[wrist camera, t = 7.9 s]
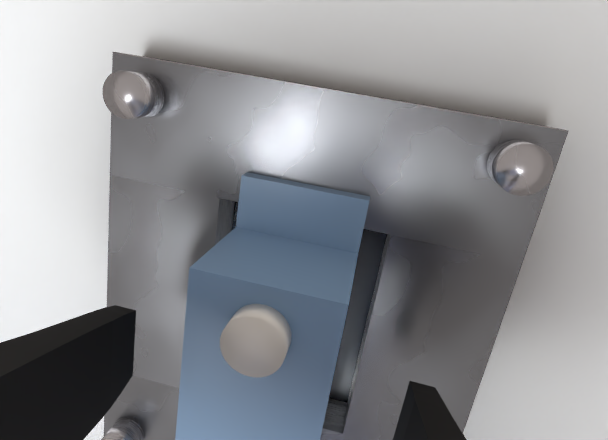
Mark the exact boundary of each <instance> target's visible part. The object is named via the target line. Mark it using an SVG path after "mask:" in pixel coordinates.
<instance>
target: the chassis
mask: <svg viewBox="0 0 608 440" xmlns="http://www.w3.org/2000/svg"><path fill="white" fill-rule="evenodd" d="M103 98H104V102H105V104H106V106H107V108H108V109H109V110H110V111H111V154H110V197H109V241H108V284H107V307H110V306H114V305H117V306H121V307H125V308H129V309H132V310H136V324H135V344H134V363H133V376H132V377H131V379H130V380H129V382H128V383H127V385H126V386H125V388H124V390H123V391H122V393H121V394H120V395H119V397H118V398H117V400H116V401H115V402H114V404H113V405H112V407H111V408H110V409H109V411H108V412H107V413H106V414H105V415H104V437H103V438H102V439H101V440H175V437H176V424H177V412H178V400H179V388H180V375H181V363H182V351H183V338H184V326H185V314H186V302H187V289H188V277H189V268H190V267H191V266H192V265H193V264H194V263H195V262H196V261H198V260H199V259H200V258H201V257H202V256H203V255H204V254H206V253H207V252H208V251H209V250H210V249H211V248H212V247H214V246H215V245H216V244H217V243H218V242H219V241H220V240H222V239H223V238H224V237H225V236H226V235H227V234H228V233H230V232H231V231H232V225H233V216H234V208H235V202H239V194H240V185H241V176H242V175H243V174H245V173H247V172H249V173H254V174H259V175H264V176H269V177H274V178H279V179H284V180H289V181H294V182H299V183H304V184H309V185H314V186H319V187H324V188H330V189H335V190H340V191H345V192H350V193H355V194H360V195H365V196H370V201H369V206H368V210H367V215H366V220H365V224H364V229H366V230H370V231H375V232H380V233H384V234H387V237H386V241H385V245H384V250H383V254H382V258H381V262H380V266H379V271H378V275H377V279H376V283H375V287H374V292H373V296H372V300H371V304H370V308H369V313H368V317H367V321H366V325H365V329H364V334H363V338H362V342H361V346H360V350H359V355H358V359H357V363H356V367H355V371H354V376H353V380H352V384H351V388H350V392H349V397H348V401H347V403H346V402H342V401H339V400H335V399H331V398H329V400H328V405H327V409H326V414H325V419H324V423H323V428H322V433H321V437H320V440H393V437H394V434H395V430H396V427H397V423H398V420H399V416H400V413H401V409H402V406H403V402H404V399H405V395H406V392H407V388H408V385H409V381H413V382H417V383H421V384H424V385H428V386H432V387H435V388H436V389H437V391H438V393H439V394H440V396H441V398H442V399H443V401H444V403H445V405H446V406H447V408H448V410H449V412H450V413H451V415H452V417H453V418H454V420H455V422H456V423H457V425H458V427H459V428H460V430H461V432H462V433H463V431H464V428H465V425H466V422H467V419H468V416H469V414H470V411H471V408H472V405H473V402H474V399H475V396H476V394H477V391H478V388H479V385H480V382H481V379H482V376H483V374H484V371H485V368H486V365H487V362H488V359H489V356H490V354H491V351H492V348H493V345H494V342H495V339H496V336H497V334H498V331H499V328H500V325H501V322H502V319H503V316H504V314H505V311H506V308H507V305H508V302H509V299H510V296H511V294H512V291H513V288H514V285H515V282H516V279H517V276H518V274H519V271H520V268H521V265H522V262H523V259H524V256H525V254H526V251H527V248H528V245H529V242H530V239H531V236H532V234H533V231H534V228H535V225H536V222H537V219H538V216H539V214H540V211H541V208H542V205H543V202H544V199H545V196H546V194H547V191H548V188H549V185H550V182H551V179H552V176H553V174H554V171H555V168H556V165H557V162H558V159H559V156H560V154H561V151H562V148H563V145H564V142H565V139H566V136H567V134H568V131H566V130H562V129H557V128H552V127H547V126H541V125H535V124H530V123H524V122H518V121H512V120H507V119H501V118H495V117H489V116H484V115H478V114H472V113H466V112H461V111H455V110H449V109H443V108H437V107H432V106H426V105H420V104H414V103H409V102H403V101H397V100H391V99H386V98H380V97H374V96H368V95H363V94H357V93H351V92H345V91H340V90H334V89H328V88H322V87H316V86H311V85H305V84H299V83H293V82H288V81H282V80H276V79H270V78H265V77H259V76H253V75H247V74H242V73H236V72H230V71H224V70H218V69H213V68H207V67H201V66H195V65H190V64H184V63H178V62H172V61H167V60H161V59H155V58H149V57H144V56H137V55H131V54H124V53H118V52H113V67H112V74H110V75H109V76H108V77H107V79H106V80H105V82H104V86H103Z"/></svg>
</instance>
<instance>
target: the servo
mask: <svg viewBox="0 0 608 440" xmlns="http://www.w3.org/2000/svg"><path fill="white" fill-rule="evenodd" d="M369 201H370V196H365V195H360V194H355V193H350V192H345V191H340V190H335V189H330V188H324V187H319V186H314V185H309V184H304V183H299V182H294V181H289V180H284V179H279V178H274V177H269V176H264V175H259V174H254V173H249V172H247V173H245V174H243V175H242V176H241V185H240V194H239V203H238V211H237V220H236V227H235V228H234V229H233V230H232V231H231V232H230V233H228V234H227V235H226V236H225V237H224V238H223V239H222V240H220V241H219V242H218V243H217V244H216V245H215V246H214V247H212V248H211V249H210V250H209V251H208V252H207V253H206V254H204V255H203V256H202V257H201V258H200V259H199V260H198V261H196V262H195V263H194V264H193V265H192V266H191V267H190V268H189V277H188V289H187V302H186V314H185V326H184V338H183V351H182V363H181V375H180V388H179V400H178V412H177V424H176V437H175V440H320V437H321V433H322V428H323V423H324V419H325V414H326V409H327V405H328V400H329V395H330V391H331V386H332V381H333V377H334V372H335V367H336V363H337V358H338V353H339V349H340V344H341V339H342V335H343V330H344V325H345V320H346V316H347V311H348V306H349V301H350V296H351V290H352V285H353V280H354V274H355V269H356V263H357V258H358V253H359V248H360V243H361V239H362V234H363V229H364V224H365V220H366V215H367V210H368V206H369Z"/></svg>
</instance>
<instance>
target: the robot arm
mask: <svg viewBox="0 0 608 440" xmlns="http://www.w3.org/2000/svg"><path fill="white" fill-rule="evenodd" d="M135 324H136V310H132V309H129V308H125V307H121V306H117V305H114V306H110V307H106V308H103V309H100V310H97V311H94V312H91V313H88V314H85V315H82V316H79V317H76V318H73V319H70V320H68V321H65V322H62V323H59V324H56V325H53V326H50V327H48V328H45V329H42V330H39V331H36V332H33V333H30V334H27V335H24V336H21V337H17V338H14V339H11V340H8V341H5V342H1V343H0V440H83V439H84V438H85V437H86V436H87V435H88V434H89V432H90V431H91V430H92V429H93V428H94V427H95V426H96V424H97V423H98V422H99V421H100V420H101V419H102V418H103V416H104V415H105V414H106V413H107V412H108V411H109V409H110V408H111V407H112V405H113V404H114V402H115V401H116V400H117V398H118V397H119V395H120V394H121V393H122V391H123V390H124V388H125V386H126V385H127V383H128V382H129V380H130V379H131V377H132V376H133V363H134V344H135ZM393 440H466V438H465V437H464V435H463V433H462V432H461V430H460V428H459V427H458V425H457V423H456V422H455V420H454V418H453V417H452V415H451V413H450V412H449V410H448V408H447V406H446V405H445V403H444V401H443V399H442V398H441V396H440V394H439V393H438V391H437V389H436V388H435V387H432V386H428V385H424V384H421V383H417V382H413V381H409V385H408V388H407V392H406V395H405V399H404V402H403V406H402V409H401V413H400V416H399V420H398V423H397V427H396V430H395V434H394V437H393Z"/></svg>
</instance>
